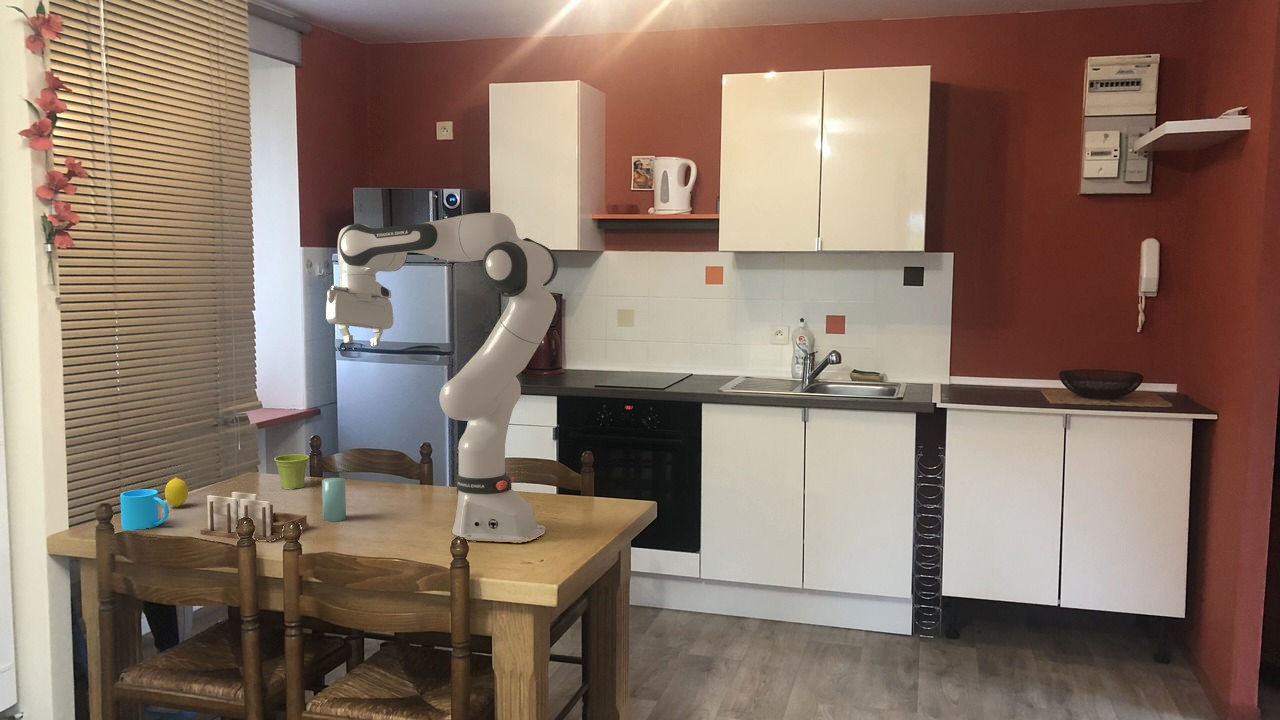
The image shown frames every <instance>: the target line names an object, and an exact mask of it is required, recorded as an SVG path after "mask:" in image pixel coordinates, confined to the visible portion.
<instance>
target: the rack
mask: <svg viewBox="0 0 1280 720" xmlns="http://www.w3.org/2000/svg"><path fill="white" fill-rule="evenodd" d="M206 501H207V503H206V505H207V527H205V528H202V529H200V530H199V531H200V535H206V536H213V537H222V538H230V539H237V540H239V539H238V536H237V533H236V525H237V522H238V520H239V519H241V518H243V517H249V518H251V519H252V520H253V522H254V524H255V534H254V538H255V540H257V539H258V540H266V541H272V540H274V539H277V538H280V536H281V539H283V538H282V529H283V526H284V525H285V524H286V523H287V522H289V521H297V522H298V523H300V525H301V527H302V529H303V530H305V529H308V528H309V527H310V526H309V523H308V517H307V515H306V514H298V513H289V512H283V511H282V512H280V511H275V512H274V506H273V504H271V502H270V501H265V500H258V493H257V494H256V493H246V492H238V491H233V492H231V497H227V496H218V495H217V496H216V495H209V494H208V495H207V496H206Z"/></svg>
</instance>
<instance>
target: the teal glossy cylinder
mask: <svg viewBox="0 0 1280 720" xmlns="http://www.w3.org/2000/svg"><path fill="white" fill-rule="evenodd" d="M346 492H347V491H346V478H343V477H329V478H328V477H327V478H323V479H322V480H321V493H322V494H321V496H322V521H323V520H324V521H323V522H326V521H328V522H327V523H335V521H338V522H343V521H345V520H346V519H347V506H346V505H347V502H346V501H347V498H346V495H347V494H346ZM342 520H343V521H342Z"/></svg>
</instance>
